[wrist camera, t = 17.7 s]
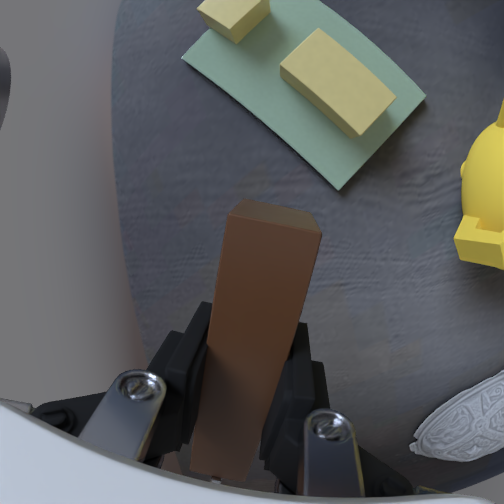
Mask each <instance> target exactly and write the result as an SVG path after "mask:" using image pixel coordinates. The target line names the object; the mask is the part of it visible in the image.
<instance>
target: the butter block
mask: <svg viewBox="0 0 504 504" xmlns="http://www.w3.org/2000/svg"><path fill="white" fill-rule="evenodd" d="M280 77H281V78H283V79H284V80H285V81H286V82H287V83H289V84H290V85H291V86H292V87H294V88H295V89H296V90H297V91H298V92H299V93H301V94H302V95H303V96H304V97H305V98H306V99H308V100H309V101H310V102H311V103H312V104H313V105H314V106H316V107H317V108H318V109H319V110H320V111H321V112H322V113H323V114H325V115H326V116H327V117H328V118H329V119H330V120H331V121H332V122H333V123H334V124H335V125H336V126H338V127H339V128H340V129H341V130H342V131H343V132H344V133H345V134H346V135H347V136H348V137H349V138H350V139H351V138H355V137H358V136H361V135H362V134H363V133H364V132H365V131H366V130H367V129H368V128H369V127H370V126H371V125H372V124H373V123H374V122H375V120H376V119H377V118H378V117H379V116H380V115H381V114H382V113H383V112H384V111H385V110H386V109H387V108H388V107H389V106H390V105H391V104H392V103H393V101H394V100H395V99H396V98H397V97H396V96H395V95H394V94H393V93H392V92H391V91H390V90H389V89H388V88H387V87H386V86H385V85H384V84H383V83H382V82H381V81H380V80H379V79H378V78H377V77H376V76H375V75H374V74H373V73H372V72H371V71H370V70H369V69H368V68H366V67H365V66H364V65H363V64H362V63H361V62H360V61H359V60H357V59H356V58H355V57H354V56H353V55H352V54H351V53H349V52H348V51H347V50H346V49H345V48H344V47H342V46H341V45H340V44H339V43H337V42H336V41H335V40H334V39H332V38H331V37H330V36H329V35H327V34H326V33H325V32H324V31H322V30H321V29H320V28H317V29H316V30H315V31H314V32H313V33H312V34H311V35H310V36H309V37H307V38H306V39H305V40H304V41H303V42H302V43H301V44H300V45H299V46H298V47H297V48H296V49H295V50H294V51H293V52H291V53H290V54H289V55H288V56H287V57H286V58H285V59H284V60H283V61H282V62H281V63H280Z"/></svg>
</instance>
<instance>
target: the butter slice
mask: <svg viewBox="0 0 504 504" xmlns="http://www.w3.org/2000/svg"><path fill="white" fill-rule="evenodd" d="M197 10H198V12H199V13H200V15H201V16H202V18H203V20H204V21H205V23H206V24H207V25H208V26H209V27H211V28H212V29H214V30H216V31H217V32H219V33H220V34H222V35H223V36H225V37H226V38H227V39H229V40H230V41H232V42H233V43H235V44H238V43H239V42H240V41H241V40H242V39H243V38H244V37H245V36H246V35H247V34H248V33H249V32H250V31H251V30H252V29H253V28H254V27H255V26H256V25H257V24H258V23H259V22H260V21H262V20H263V19H264V18H265V17H266V16H267V15H268V14H269V13H270V12H271V9H270V0H205V1H204V2H203V3H202V4H201V5H200V6H199V7H198V8H197Z"/></svg>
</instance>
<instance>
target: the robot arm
mask: <svg viewBox="0 0 504 504" xmlns="http://www.w3.org/2000/svg"><path fill="white" fill-rule="evenodd" d="M212 305H213V304H212V303H207V302H203V301H202V302H201V304H200V305H199V307H198V309H197V311H196V313H195V314H194V316H193V318H192V320H191V322H190V324H189V325H188V327H187V329H186V331H185V333H180V332H176V331H173V330H172V331H170V333H169V334H168V336H167V337H166V339H165V340H164V342H163V344H162V345H161V347H160V348H159V350H158V352H157V353H156V355H155V357H154V358H153V360H152V361H151V363H150V365H149V366H148V368H147V370H141V369H138V370H129V371H125V372H123V373H121V374H120V375H119V376H118V377H117V378H116V379H115V380H114V382H113V384H112V385H111V386H110V388H109V389H108V391H107V392H103V393H98V394H92V395H87V396H82V397H76V398H71V399H65V400H59V401H52V402H48V403H44V404H42V405H40V406H38V407H37V408H33V407H32V404H30V403H24V402H18V401H13V400H8V399H3V398H0V504H496V503H494V502H492V501H490V500H488V499H484V498H482V497H476V496H471V495H465V494H464V495H463V494H452V493H448V492H443V491H439V490H435V489H431V488H427V487H423V486H419V485H417V486H416V487H415V488H412V485H411V484H410V482H409V481H408V480H407V479H406V478H405V477H403V476H402V475H400V474H399V473H397V472H396V471H394V470H393V469H392V468H390V467H389V466H387V465H386V464H384V463H383V462H381V461H380V460H378V459H377V458H375V457H374V456H373V455H371V454H370V453H368V452H367V451H366V450H364V449H363V448H361V447H360V446H359V445H358V444H357V438H356V432H355V427H354V425H353V423H352V421H351V420H350V419H349V418H348V417H347V416H345V415H344V414H342V413H340V412H338V411H336V410H332V409H330V405H329V398H328V391H327V384H326V378H325V372H324V365H323V363H322V362H318V361H312V360H311V353H310V344H309V336H308V328H307V323H302V322H299V323H298V326H297V329H296V333H295V336H294V339H293V343H292V346H291V349H290V353H289V356H288V359H287V361H285V363H284V366H283V369H282V372H281V375H280V379H279V382H278V385H277V388H276V391H275V394H274V397H273V400H272V403H271V406H270V409H269V412H268V415H267V418H266V421H265V424H264V427H263V429H262V436H261V445H260V455H259V459H260V460H265V466H264V470H270V471H271V472H272V473H273V474H274V475H275V476H276V477H277V478H276V482H275V490H274V493H270V492H262V491H255V490H249V489H243V488H237V487H232V486H226V485H221V484H216V483H212V482H207V481H203V480H199V479H195V478H191V477H187V476H183V475H179V474H176V473H172V472H168V471H165V470H162V469H161V466H162V463H163V460H164V455H165V454H167V453H170V452H172V451H178V452H179V451H180V449H181V446H182V443H184V444H189V442H190V439H191V436H192V433H193V429H194V426H195V423H196V420H197V417H198V410H199V403H200V396H201V389H202V382H203V375H204V369H205V362H206V355H207V349H208V345H207V337H208V330H209V324H210V318H211V311H212Z"/></svg>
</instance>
